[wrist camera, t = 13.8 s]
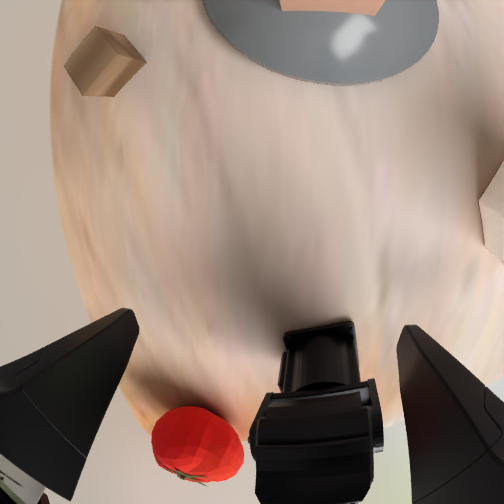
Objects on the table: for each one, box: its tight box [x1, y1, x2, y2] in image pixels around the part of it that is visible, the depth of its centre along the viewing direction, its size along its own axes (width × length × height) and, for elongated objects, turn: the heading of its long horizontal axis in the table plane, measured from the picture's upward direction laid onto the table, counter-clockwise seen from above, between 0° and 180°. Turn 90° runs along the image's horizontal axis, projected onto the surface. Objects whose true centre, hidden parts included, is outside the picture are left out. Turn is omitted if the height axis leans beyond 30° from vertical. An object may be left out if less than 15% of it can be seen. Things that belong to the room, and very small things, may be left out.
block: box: [64, 26, 147, 97], centre depth 15 cm, size 4×4×4 cm
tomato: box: [152, 406, 244, 485], centre depth 30 cm, size 13×12×11 cm
